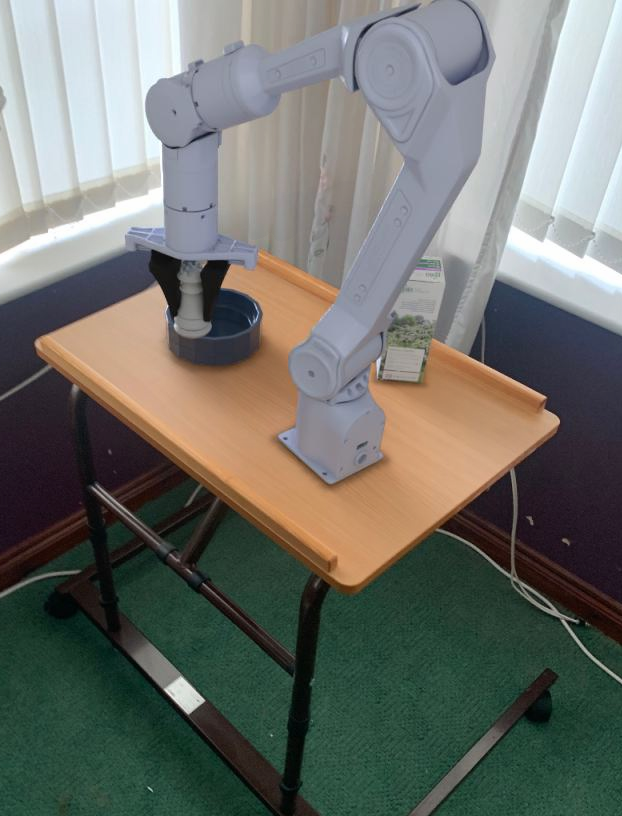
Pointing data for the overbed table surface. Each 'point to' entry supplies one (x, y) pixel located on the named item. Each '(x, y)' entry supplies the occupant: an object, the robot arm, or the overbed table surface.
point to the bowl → (222, 332)
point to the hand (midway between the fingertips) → (192, 314)
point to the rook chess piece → (191, 303)
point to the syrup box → (413, 324)
